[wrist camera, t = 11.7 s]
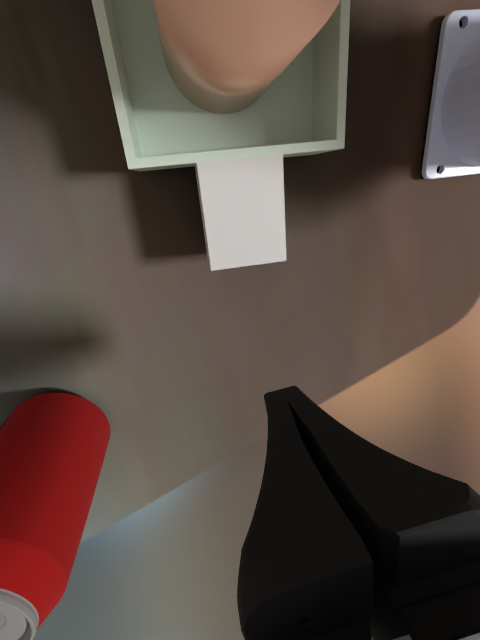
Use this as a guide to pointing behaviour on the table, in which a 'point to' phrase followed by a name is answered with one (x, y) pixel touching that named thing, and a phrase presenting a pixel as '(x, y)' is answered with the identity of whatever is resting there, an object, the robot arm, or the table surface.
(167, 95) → the tray
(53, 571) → the beverage can
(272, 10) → the pink-tan solid cylinder
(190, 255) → the table surface
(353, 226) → the table surface
